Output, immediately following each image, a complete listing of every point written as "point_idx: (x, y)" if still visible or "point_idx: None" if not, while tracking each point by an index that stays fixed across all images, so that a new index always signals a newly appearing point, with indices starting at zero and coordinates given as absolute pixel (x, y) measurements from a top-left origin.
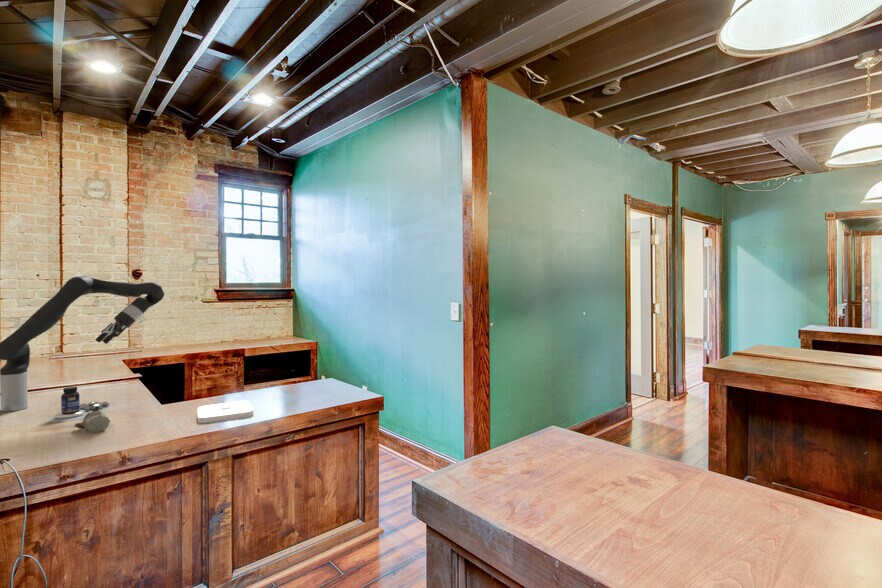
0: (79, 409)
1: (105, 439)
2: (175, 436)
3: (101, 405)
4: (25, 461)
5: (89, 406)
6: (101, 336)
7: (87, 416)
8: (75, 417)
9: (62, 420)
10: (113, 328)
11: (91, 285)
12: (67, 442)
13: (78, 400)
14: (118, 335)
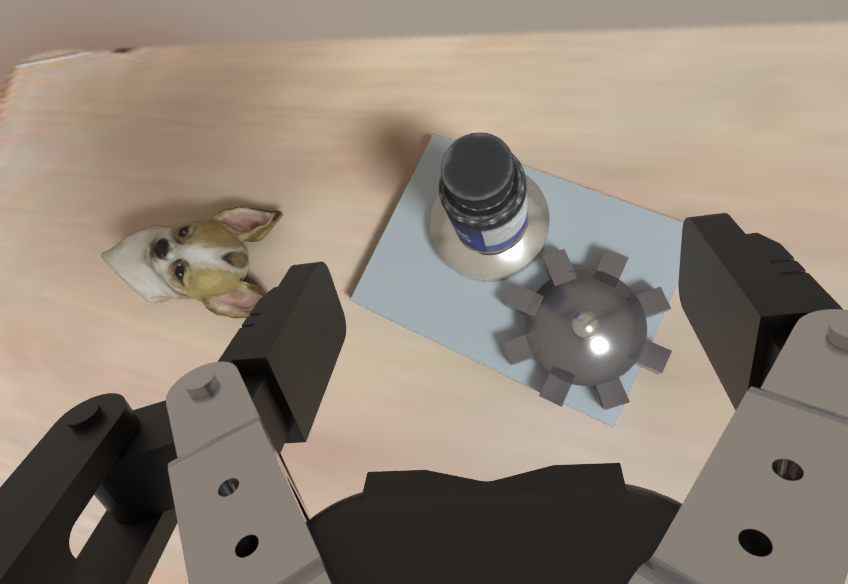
0: (478, 252)
1: (73, 268)
2: None
3: (522, 360)
4: (70, 81)
5: (552, 310)
6: (727, 314)
7: (177, 226)
8: (428, 235)
9: (417, 188)
10: (182, 521)
11: None
12: (144, 177)
13: (459, 230)
14: (114, 524)
